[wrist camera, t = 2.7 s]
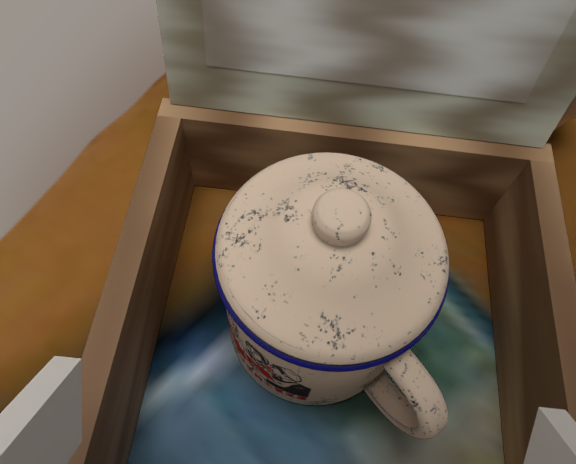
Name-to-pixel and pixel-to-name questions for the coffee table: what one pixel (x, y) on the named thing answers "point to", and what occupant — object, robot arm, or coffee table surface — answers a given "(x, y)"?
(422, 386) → the teacup with lid
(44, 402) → the robot arm
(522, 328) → the open wooden keepsake box
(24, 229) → the coffee table surface
